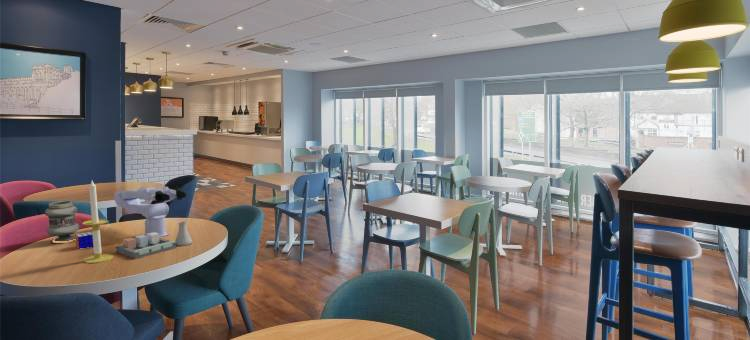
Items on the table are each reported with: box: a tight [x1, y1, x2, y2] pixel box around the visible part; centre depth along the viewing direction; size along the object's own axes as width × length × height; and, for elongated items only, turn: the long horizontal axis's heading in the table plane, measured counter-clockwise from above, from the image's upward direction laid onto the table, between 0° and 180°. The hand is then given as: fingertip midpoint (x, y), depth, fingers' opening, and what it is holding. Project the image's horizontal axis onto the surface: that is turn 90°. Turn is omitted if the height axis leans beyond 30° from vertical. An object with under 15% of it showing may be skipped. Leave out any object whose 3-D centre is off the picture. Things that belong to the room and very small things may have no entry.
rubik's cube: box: [74, 231, 94, 250], centre depth 178 cm, size 6×6×6 cm
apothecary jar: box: [44, 200, 81, 241], centre depth 185 cm, size 12×12×18 cm
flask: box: [174, 221, 193, 246], centre depth 183 cm, size 7×7×10 cm
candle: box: [82, 180, 114, 264], centre depth 161 cm, size 10×10×32 cm
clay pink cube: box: [122, 237, 136, 249], centre depth 172 cm, size 4×3×4 cm
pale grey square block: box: [147, 232, 160, 243], centre depth 180 cm, size 4×3×4 cm
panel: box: [115, 237, 177, 260], centre depth 175 cm, size 16×17×3 cm
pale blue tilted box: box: [134, 234, 148, 246], centre depth 176 cm, size 4×3×4 cm
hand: (177, 196), depth 182 cm, fingers open, 7 cm apart
